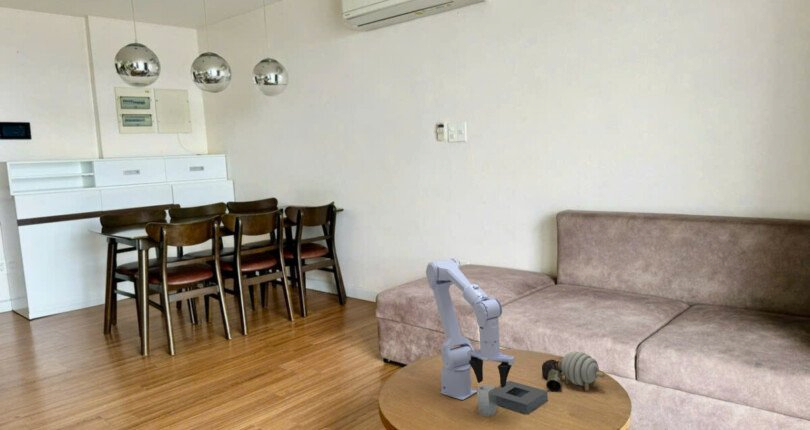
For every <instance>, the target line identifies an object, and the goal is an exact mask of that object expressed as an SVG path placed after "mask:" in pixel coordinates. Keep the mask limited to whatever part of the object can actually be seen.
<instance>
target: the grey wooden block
mask: <svg viewBox="0 0 810 430" xmlns="http://www.w3.org/2000/svg"><path fill="white" fill-rule="evenodd" d="M496 388H497V387H496V386H494V385H491V384H488V383H484V384H482V385H481V386H479V387H477V389H476V390H477V392H476V394H477V409H478V410H477V411H478V412H477V413H478V415H481V416H484V417H488V418H490V417H492V416H494V415H496V414H497V413H498V405H497V398H496Z"/></svg>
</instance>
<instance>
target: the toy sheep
mask: <svg viewBox="0 0 810 430" xmlns="http://www.w3.org/2000/svg"><path fill="white" fill-rule="evenodd" d="M558 361H559V363H558V367H559V369H560V370H562V374H563V375H564V382H565V383H564V384H565V385H570V382H571V383H572V384H573V385H576V386H582V387H583V386H584V391H585V392H588V391H589V389H590V387H589V386H590V385H589V384H591V386H592V388H596V386H597V383H596V381H597V379H598V377H599V378H602V379H603V378H605V376H606V375H605V373H604V372H601V371H600V369H599V364H598V361H597V360H596V359H595V358H594V357H592V356H591V355H589V354H587V353H584V352H578V351H574V352H573V351H571V352H568V353H566V354H565V355H564V356H563V357H562V358H561V359H560V360H558Z"/></svg>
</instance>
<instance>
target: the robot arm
mask: <svg viewBox="0 0 810 430" xmlns="http://www.w3.org/2000/svg"><path fill="white" fill-rule="evenodd" d="M425 275H426V279H427V283H428V286H429V288H430V289H431V290H432V292H433V296H434V300H435V302H436V307H437V310H438V314H439V317H440V321H441V324H442V325H441V326H442V329H443V333H444V335H445V341H444V342H443V344H442V345H441V346H440V351H441V361H442V364H443V365H444V366H443V367H442V369H441V372H440V378H441V379H440V380H441V382H440V383H441V391H440V394H442V395H445V396H447V397H452V398H455V399H457V400H460V401H464V400H466V399H467V398H469V397H471V396H473V395H475V394H477V389H472V376H471V369H472V370H473V372H474V375H475V377H476V381H477V383H478V384H480V383H482V382H483V380H484V376H483V375H484V371H483V370H484V367H483V366H484V365H483V364H484V362H489V361H490V362H496V363H500V364H498V365H497V369H498V373H499V382H500V383H499V384H500V385H499V386H501V387H502V388H503V387H505V386H506V382H508V381H507V380H508V376H509V373H510V371H511V369H512V367H513V365H514V364H515V357H514V356H512V355H508V354H504V353H503V352H501V348H500V328H499V327H500V325H499V318H500V317H502V314H503V307H502V303H501V302H500V301H499V300H498V298H496V297H491V296H488V294H487V293H486V292H485V291H484V290H483V289H482V287H480V286H479V285H478V284H476V283H471V282H470V280H469V279H468V278H466V276H465V274H464V273H463V272H462V271H461V265H460V263H459V262H458V261H457V260H456V259H455V258H450V259H444V260H439V261H430V262H428V263H427V265H426V270H425ZM453 284H454V285H455V286H456V287H457V288H458V289H459V290H461V292H463V293H462V298H463V299H464V300H465V301H466V302H467V303H468V304H469V305H470V306H471V307H472V308H473V311H474V312H473V313H474V316H475V318H476V324H477V326H478V329H479V347H480V348H479V349H478V350H477V349H474V347H473V346H472V344H471V341H470V339H469V338H467V337H465V336H463V335H462V332H461V328H460V325H459V321H458V318H457V313H456V311H455V310H456V309H455V307H454V303H453V300H452V297H451V292H450V287H451V286H452V285H453Z"/></svg>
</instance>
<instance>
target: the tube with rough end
mask: <svg viewBox="0 0 810 430" xmlns="http://www.w3.org/2000/svg"><path fill="white" fill-rule="evenodd" d="M559 361H560V360H556V359H552V358H551V359H548V360H545V362H542V365H541V376H542V377H543V378H544V379H546V385H545V387H546V388H547V391H550V392H553V393H558V392H560V391H561V390H562V386H563V385H562V374H563V372H562V370H560V369H559V367H558V363H559Z"/></svg>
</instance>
